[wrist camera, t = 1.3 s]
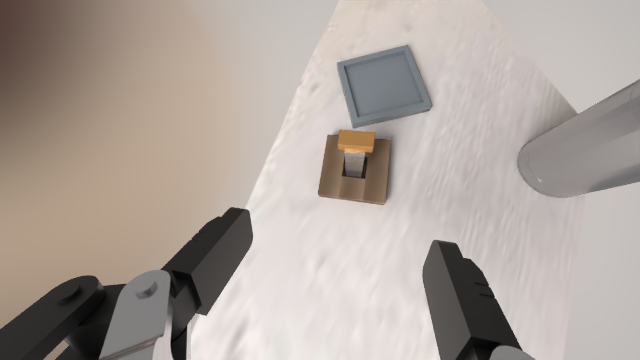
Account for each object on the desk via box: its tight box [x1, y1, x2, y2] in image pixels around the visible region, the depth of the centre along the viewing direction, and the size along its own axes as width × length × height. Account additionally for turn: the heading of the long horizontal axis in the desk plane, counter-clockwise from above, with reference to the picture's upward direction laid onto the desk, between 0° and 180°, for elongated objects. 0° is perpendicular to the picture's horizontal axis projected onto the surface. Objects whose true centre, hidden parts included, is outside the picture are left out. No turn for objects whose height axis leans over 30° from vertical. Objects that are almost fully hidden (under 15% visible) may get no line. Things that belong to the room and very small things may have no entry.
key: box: [338, 130, 375, 178], centre depth 31 cm, size 4×2×12 cm, turn 81°
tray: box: [337, 45, 432, 128], centre depth 39 cm, size 13×13×2 cm
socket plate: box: [318, 135, 391, 205], centre depth 36 cm, size 10×10×2 cm
